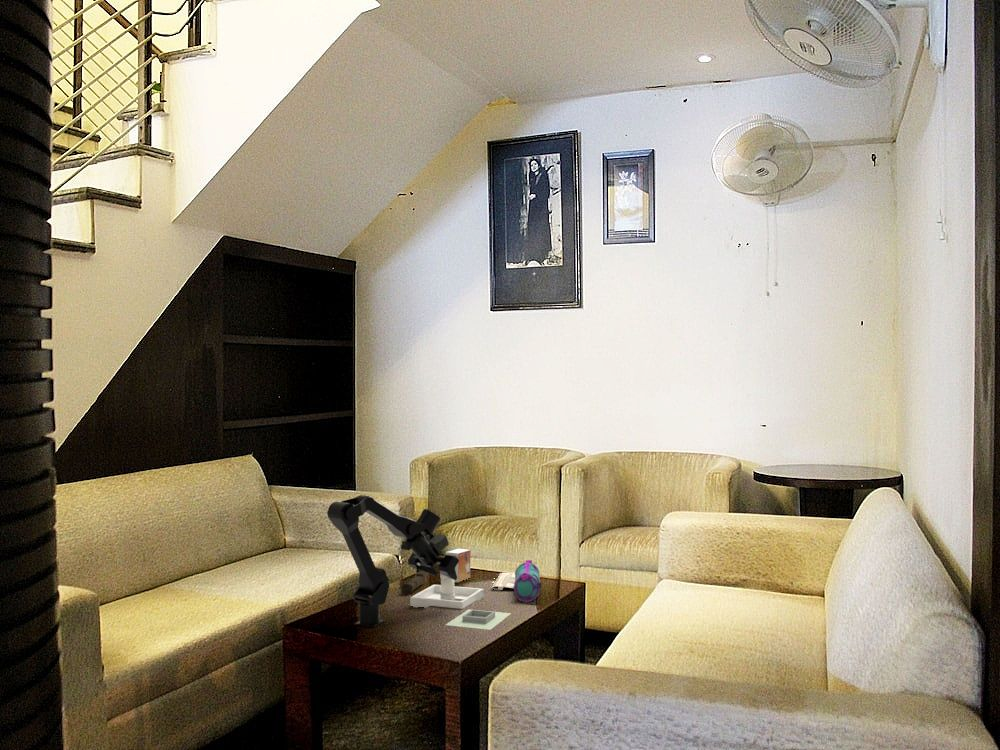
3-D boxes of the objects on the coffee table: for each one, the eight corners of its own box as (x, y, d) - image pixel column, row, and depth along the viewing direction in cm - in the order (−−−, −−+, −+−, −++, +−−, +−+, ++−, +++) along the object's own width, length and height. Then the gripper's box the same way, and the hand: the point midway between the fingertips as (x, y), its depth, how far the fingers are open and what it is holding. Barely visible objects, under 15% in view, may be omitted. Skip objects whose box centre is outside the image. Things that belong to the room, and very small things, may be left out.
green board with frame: (490, 633, 241) (490, 624, 241) (445, 628, 245) (445, 619, 245) (511, 616, 258) (511, 608, 258) (468, 612, 262) (468, 604, 262)
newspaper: (495, 577, 312) (495, 570, 312) (527, 582, 310) (528, 575, 310) (485, 592, 290) (486, 584, 290) (520, 597, 288) (521, 589, 288)
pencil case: (541, 603, 274) (541, 573, 274) (513, 603, 274) (513, 573, 274) (540, 587, 294) (540, 560, 295) (514, 587, 295) (514, 559, 295)
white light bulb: (457, 601, 274) (457, 570, 274) (443, 603, 271) (443, 571, 272) (451, 597, 278) (451, 567, 278) (438, 599, 276) (438, 568, 276)
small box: (457, 583, 301) (457, 553, 301) (445, 581, 304) (445, 551, 304) (470, 578, 308) (470, 549, 308) (458, 576, 311) (458, 548, 311)
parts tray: (462, 611, 263) (462, 602, 263) (410, 606, 269) (410, 597, 269) (483, 597, 280) (483, 588, 280) (433, 593, 286) (433, 584, 286)
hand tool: (411, 595, 284) (411, 581, 284) (400, 594, 285) (400, 581, 285) (431, 583, 302) (432, 570, 303) (421, 582, 304) (421, 569, 304)
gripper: (455, 530, 264) (479, 560, 272) (414, 523, 277) (438, 552, 285) (436, 559, 258) (461, 589, 266) (396, 551, 271) (421, 580, 279)
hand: (446, 576), depth 274 cm, fingers open, 9 cm apart
